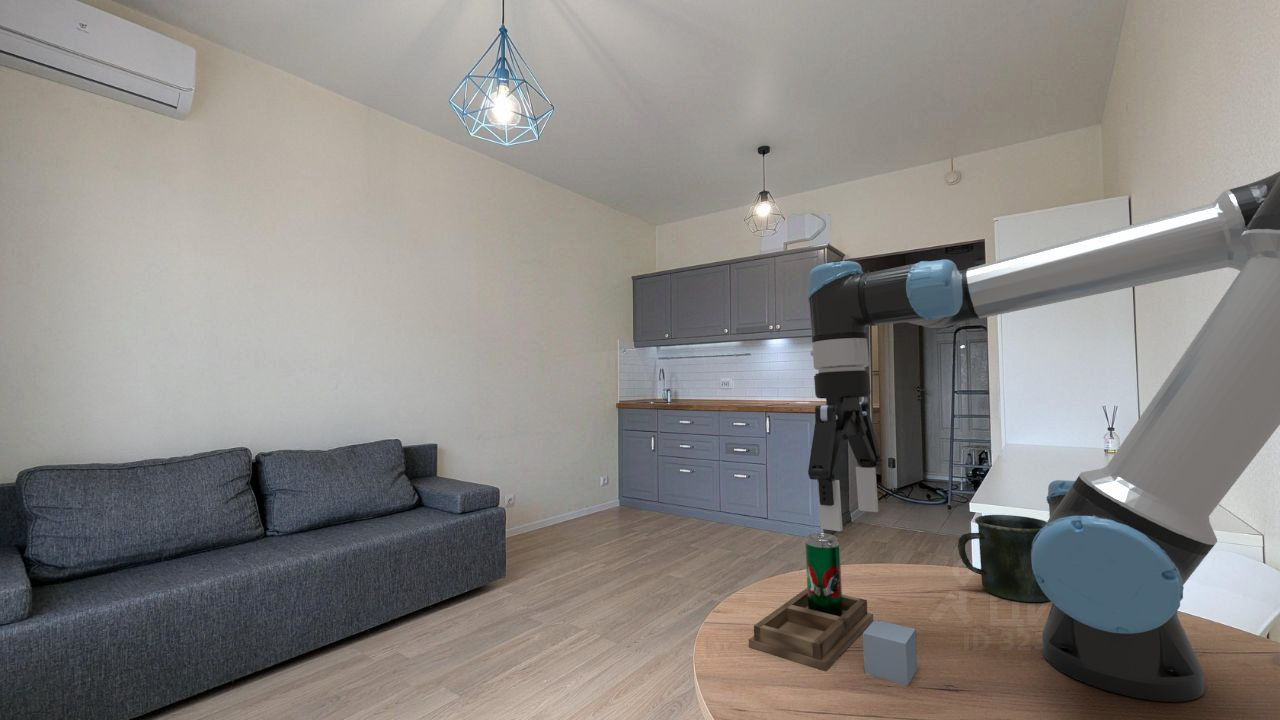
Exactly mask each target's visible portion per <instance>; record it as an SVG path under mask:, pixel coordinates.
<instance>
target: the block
mask: <svg viewBox="0 0 1280 720" xmlns="http://www.w3.org/2000/svg"><path fill="white" fill-rule="evenodd" d="M916 632H917V631H916V628H912V627H908V626H903V625H899V624H895V623H891V622H886V621H882V620H879V619H878V620H877V619H873V621H872V622H871V623H870V624H869V626H868V627H867V628H866V629H865V630H864V631H863V632H862V642H863V643H862V645H863V663H864V664H863V665H864V674H866V675H869V676H873V677H876V678H879V679H883V680H887V681H890V682H893V683H897V684H901V685H904V686H906V687H907V686H909V684H910V682H911V681H912V679H913V677H914V676H915V674H916V672H917V671H918V668H919V667H918V656H917V655H918V654H917V653H918V651H917V649H918V648H917V634H916Z"/></svg>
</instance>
